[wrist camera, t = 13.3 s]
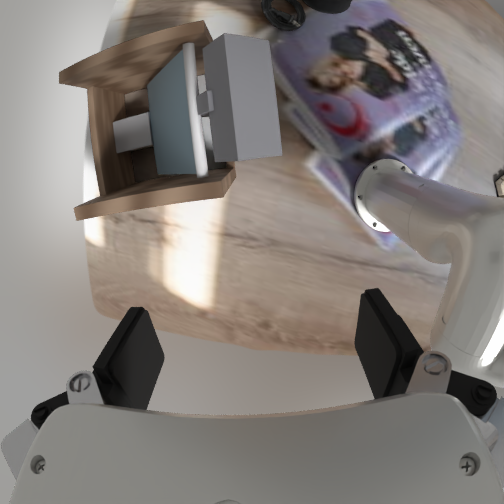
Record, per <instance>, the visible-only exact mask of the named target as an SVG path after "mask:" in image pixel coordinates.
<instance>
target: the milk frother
mask: <svg viewBox="0 0 504 504" xmlns="http://www.w3.org/2000/svg"><path fill="white" fill-rule="evenodd" d="M272 1H273V0H262V2H261V6H262V10H263V13H264V15H265V17H266V18H267V20H268V21H269V22H270V23H271V24H272V25H273V26H275V27H277V28H279V29H281V30H285V31H293V30H296V29H298V28H299V27H300V26H301V25H302V24H303V23H304V21H305V13H304V10H303V7H302V6H301V4H300V3H299V2H298V1H297V0H286V1H288V2H290V3H291V4H292V5H293V6H294V7H295V9H296V11H297V14H298V19H297V22H296V21H295V20H294V15H292V16H291V15H289V14H287V13H284V12H282V11H278V10H276V9H275V8H272V7H271V2H272ZM303 1H304V2H305V3H306V4H307V5H308V6H310V7H311V8H313V9H315V10H318V11H320V12H324V13H331V14H335V13H341V12H343V11H345V10H347V9H348V8H349V6H350V4H351V1H352V0H303Z"/></svg>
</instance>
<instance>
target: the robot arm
mask: <svg viewBox="0 0 504 504" xmlns="http://www.w3.org/2000/svg"><path fill="white" fill-rule="evenodd" d="M373 166H374V169H373ZM401 167H402V169H401ZM359 195H360V197H359V198H358V196H359ZM354 201H355V207H356V210H357V212H358V214H359V216H360V218H361V219H362V220H363V221H364V222H365V223H366V224H367V225H368V226H369V227H371V228H372V229H375V230H377V231H382V232H390V231H391V232H392V233H393V234H395V235H396V236H397V237H399V238H400V239H401V240H402V241H404V242H405V243H406V244H407V245H409V246H410V247H411V248H412V249H413V250H415V251H416V252H417V253H419V254H420V255H421V256H422V257H423V258H425V259H426V260H428V261H430V262H433V263H437V264H449V263H452V265H451V269H450V273H449V276H448V282H447V285H446V288H445V292H444V295H443V298H442V301H441V304H440V306H439V309H438V312H437V315H436V318H435V320H434V324H433V327H432V330H431V335H430V345H431V349H432V351H427V352H425V353H424V351H423V350H422V348H421V347H420V345H419V344H418V342H417V340H416V339H415V337H414V336H413V334H412V333H411V331H410V330H409V328H408V327H407V325H406V324H405V322H404V321H403V319H402V318H401V317H400V316H399V315H397V314H396V312H395V311H394V309H393V308H392V306H391V305H390V303H389V302H388V301H387V299H386V298H385V296H384V295H383V294H382V292H381V291H380V289H379V288H375V289H368V290H365V293H363V294H361V299H360V307H359V315H358V322H357V329H356V336H355V348H356V351H357V353H358V356H359V358H360V361H361V364H362V366H363V369H364V371H365V374H366V377H367V379H368V382H369V385H370V387H371V390H372V393H373V396H374V398H375V399H374V400H369V401H364V402H359V403H354V404H348V405H342V406H336V407H329V408H323V409H315V410H307V411H299V412H288V413H275V414H257V415H199V414H182V413H181V414H180V413H169V412H159V411H150V410H147V407H148V404H149V401H150V398H151V395H152V392H153V390H154V387H155V384H156V381H157V378H158V376H159V373H160V370H161V368H162V365H163V362H164V353H163V350H162V348H161V345H160V343H159V340H158V337H157V335H156V332H155V329H154V327H153V324H152V321H151V318H150V316H149V313H148V311H147V310H145V309H144V308H143V307H131V308H130V309H129V310H128V312H127V313H126V315H125V316H124V318H123V319H122V321H121V322H120V324H119V325H118V327H117V328H116V330H115V332H114V333H113V335H112V336H111V338H110V339H109V341H108V342H107V344H106V346H105V347H104V349H103V350H102V352H101V354H100V355H99V357H98V359H97V361H96V362H95V364H94V365H93V368H94V371H93V372H92V373H91V372H90V371H79V372H77V373H75V374H73V375H72V376H71V377H70V378H69V380H68V381H67V384H66V389H67V391H66V392H64V393H62V394H59V395H57V396H55V397H53V398H51V399H49V400H47V401H45V402H42V403H40V404H38V405H37V406H36V407H35V408H34V409H33V411H32V414H31V421H30V420H29V419H27V420H26V421H24V422H23V423H22V424H21V425H20V426H18V427H17V428H16V429H14V430H13V431H12V432H11V433H9V434H8V435H7V436H6V437H5V438H4V439H3V441H2V443H1V449H2V452H3V454H4V457H5V459H6V461H7V463H8V465H9V467H10V469H11V471H12V473H13V475H14V477H15V479H16V483H15V486H14V490H13V493H12V496H11V500H10V503H9V504H504V492H503V487H504V398H503V397H501V398H500V399H498V398H497V393H496V390H495V388H494V387H493V386H497V387H501V388H504V198H500V197H494V196H487V195H482V194H477V193H472V192H469V191H465V190H462V189H459V188H456V187H453V186H450V185H447V184H444V183H441V182H438V181H435V180H431V179H428V178H425V177H422V176H418V175H415V174H413V173H412V171H411V170H410V169H409V168H408V167H407V166H406V165H405V164H403V163H402V162H400V161H397V160H394V159H380V160H377V161H374V162H372V163H371V164H369V165H368V166H367V167H366V168H365V169H364V170H363V171H362V172H361V174H360V176H359V177H358V180H357V182H356V185H355V190H354ZM373 222H374V224H373Z"/></svg>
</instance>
